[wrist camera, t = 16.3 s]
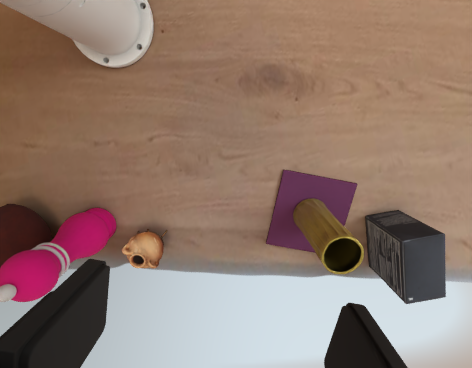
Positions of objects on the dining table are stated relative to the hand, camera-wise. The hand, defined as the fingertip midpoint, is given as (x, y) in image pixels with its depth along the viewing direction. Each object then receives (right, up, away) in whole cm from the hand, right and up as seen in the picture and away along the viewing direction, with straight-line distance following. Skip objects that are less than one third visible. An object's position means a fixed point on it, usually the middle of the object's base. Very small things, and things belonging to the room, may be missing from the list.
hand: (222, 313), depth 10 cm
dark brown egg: (-36, -3, +36) cm, 51 cm away
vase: (+14, 0, +35) cm, 38 cm away
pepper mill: (-24, -2, +36) cm, 44 cm away
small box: (+28, -5, +37) cm, 46 cm away
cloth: (+14, 0, +35) cm, 38 cm away
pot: (-15, -5, +37) cm, 40 cm away
